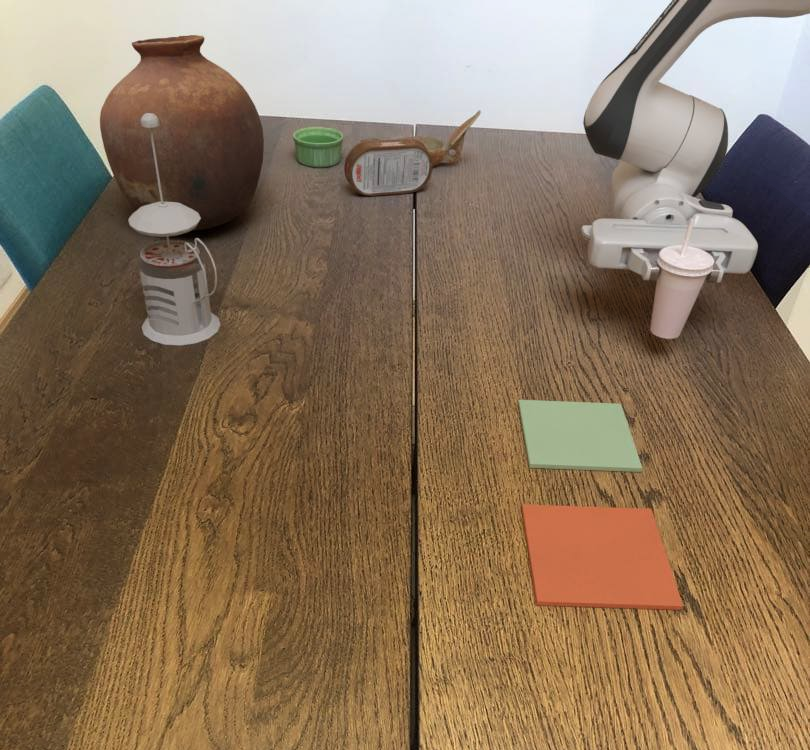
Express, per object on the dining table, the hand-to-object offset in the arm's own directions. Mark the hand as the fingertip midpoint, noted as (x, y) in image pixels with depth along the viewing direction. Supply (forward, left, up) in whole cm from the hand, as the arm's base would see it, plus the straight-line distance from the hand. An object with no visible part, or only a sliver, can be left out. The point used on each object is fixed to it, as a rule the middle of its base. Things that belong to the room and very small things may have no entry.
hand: (684, 276), depth 96 cm
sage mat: (+13, +17, -11) cm, 24 cm away
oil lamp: (+30, -66, -11) cm, 73 cm away
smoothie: (0, -1, -8) cm, 8 cm away
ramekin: (+48, -65, -11) cm, 82 cm away
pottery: (+65, -36, -11) cm, 75 cm away
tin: (+35, -51, -11) cm, 63 cm away
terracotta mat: (+14, +36, -11) cm, 40 cm away
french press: (+60, -3, -11) cm, 61 cm away
